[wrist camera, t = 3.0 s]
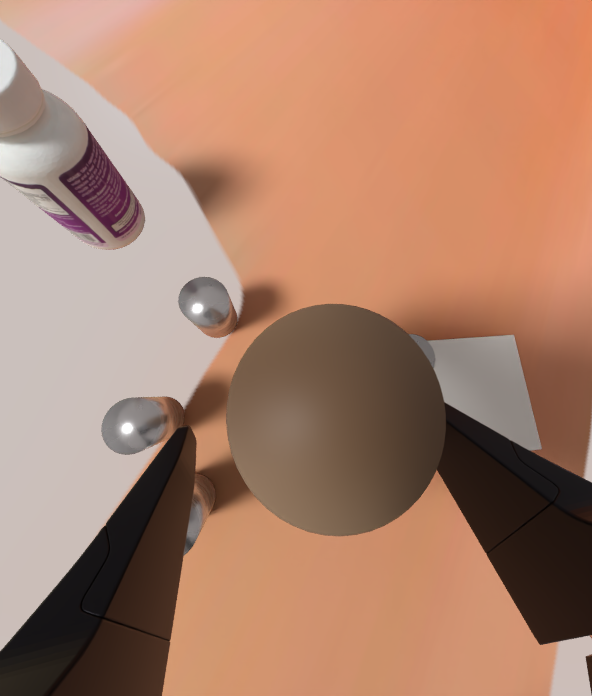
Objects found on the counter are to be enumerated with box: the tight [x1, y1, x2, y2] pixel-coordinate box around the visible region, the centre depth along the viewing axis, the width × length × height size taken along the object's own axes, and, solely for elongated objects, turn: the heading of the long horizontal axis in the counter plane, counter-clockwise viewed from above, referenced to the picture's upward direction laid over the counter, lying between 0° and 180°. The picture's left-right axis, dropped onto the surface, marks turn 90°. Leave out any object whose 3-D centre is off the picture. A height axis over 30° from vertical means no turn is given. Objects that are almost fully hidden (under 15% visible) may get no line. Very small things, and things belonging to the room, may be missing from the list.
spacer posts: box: [102, 277, 435, 555], centre depth 17 cm, size 16×20×4 cm
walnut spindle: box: [226, 304, 446, 536], centre depth 12 cm, size 4×4×14 cm
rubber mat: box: [428, 335, 542, 451], centre depth 20 cm, size 9×9×1 cm
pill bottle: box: [0, 40, 145, 250], centre depth 15 cm, size 5×5×10 cm
